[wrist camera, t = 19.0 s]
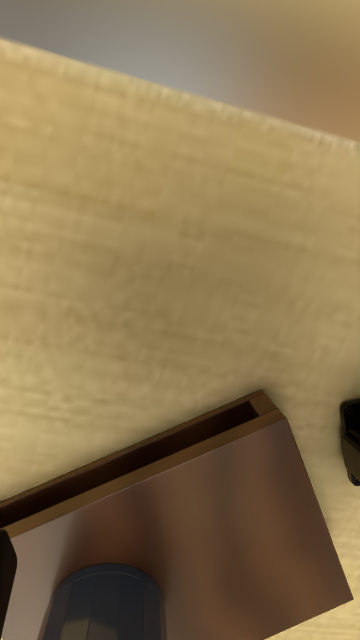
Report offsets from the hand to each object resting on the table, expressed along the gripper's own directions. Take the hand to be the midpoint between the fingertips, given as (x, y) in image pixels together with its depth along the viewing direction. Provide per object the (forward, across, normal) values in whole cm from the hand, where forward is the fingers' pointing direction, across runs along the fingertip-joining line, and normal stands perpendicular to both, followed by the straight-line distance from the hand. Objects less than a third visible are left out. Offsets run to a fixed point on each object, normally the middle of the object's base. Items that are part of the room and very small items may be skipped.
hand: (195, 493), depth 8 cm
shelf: (+13, +3, +13) cm, 19 cm away
